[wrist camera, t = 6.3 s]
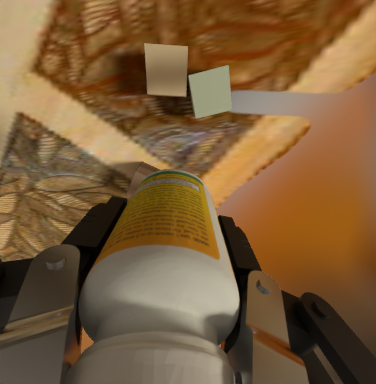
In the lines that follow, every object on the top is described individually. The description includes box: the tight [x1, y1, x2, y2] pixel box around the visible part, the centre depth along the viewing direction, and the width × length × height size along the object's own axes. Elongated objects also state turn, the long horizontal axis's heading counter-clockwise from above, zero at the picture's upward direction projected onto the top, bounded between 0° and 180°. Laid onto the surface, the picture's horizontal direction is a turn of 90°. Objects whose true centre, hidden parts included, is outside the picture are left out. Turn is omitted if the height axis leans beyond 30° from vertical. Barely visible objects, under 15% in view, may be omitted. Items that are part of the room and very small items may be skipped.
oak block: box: [144, 43, 188, 97], centre depth 22 cm, size 5×5×5 cm
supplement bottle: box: [64, 169, 240, 384], centre depth 7 cm, size 5×5×10 cm
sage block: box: [188, 65, 232, 118], centre depth 24 cm, size 5×5×5 cm
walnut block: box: [126, 162, 159, 197], centre depth 30 cm, size 5×5×5 cm
